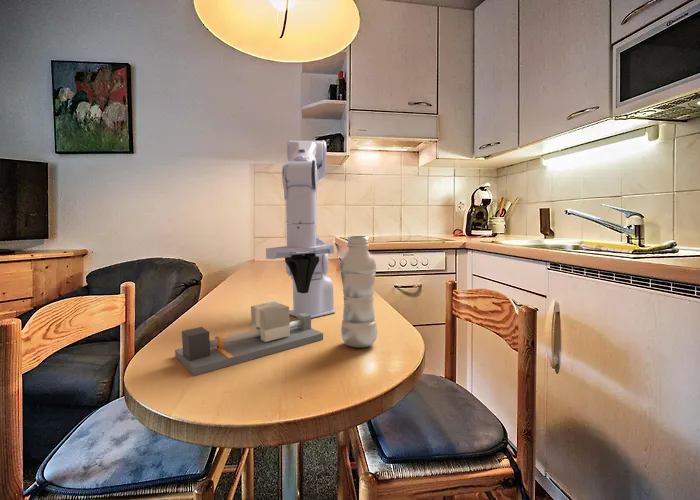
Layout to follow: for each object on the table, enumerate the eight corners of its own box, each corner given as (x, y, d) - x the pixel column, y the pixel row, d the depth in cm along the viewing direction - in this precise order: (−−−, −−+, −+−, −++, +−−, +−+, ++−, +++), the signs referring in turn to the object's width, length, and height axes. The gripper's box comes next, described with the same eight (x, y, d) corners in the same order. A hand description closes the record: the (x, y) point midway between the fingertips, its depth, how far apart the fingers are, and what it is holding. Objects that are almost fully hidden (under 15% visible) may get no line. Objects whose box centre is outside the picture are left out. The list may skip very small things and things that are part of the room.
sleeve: (275, 328, 72) (274, 301, 71) (289, 335, 68) (289, 306, 67) (252, 334, 69) (250, 306, 68) (265, 341, 65) (264, 311, 64)
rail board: (295, 327, 78) (295, 303, 77) (323, 339, 70) (322, 312, 69) (175, 356, 62) (173, 326, 62) (194, 375, 55) (192, 342, 54)
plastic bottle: (366, 354, 62) (365, 238, 60) (333, 347, 66) (332, 237, 64) (383, 343, 68) (383, 235, 66) (352, 337, 71) (351, 235, 69)
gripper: (278, 224, 63) (280, 301, 64) (342, 223, 72) (343, 290, 74) (259, 224, 68) (262, 295, 70) (322, 222, 78) (323, 285, 79)
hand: (302, 292), depth 72 cm, fingers closed
